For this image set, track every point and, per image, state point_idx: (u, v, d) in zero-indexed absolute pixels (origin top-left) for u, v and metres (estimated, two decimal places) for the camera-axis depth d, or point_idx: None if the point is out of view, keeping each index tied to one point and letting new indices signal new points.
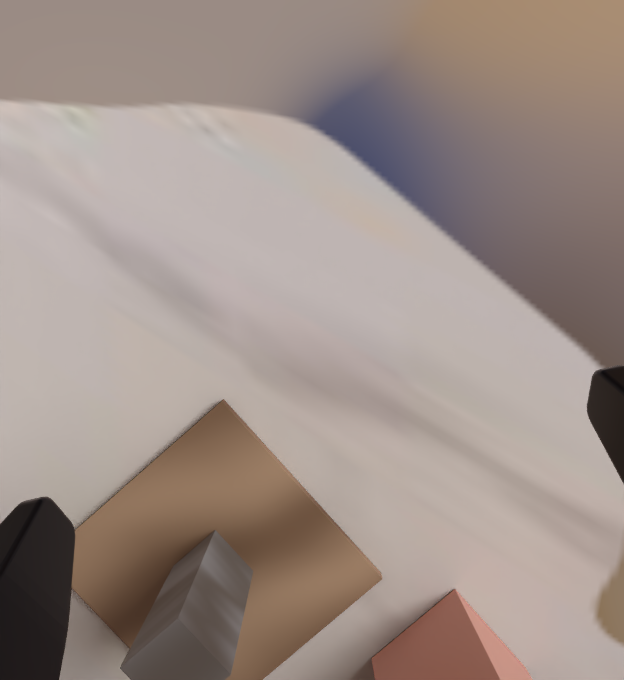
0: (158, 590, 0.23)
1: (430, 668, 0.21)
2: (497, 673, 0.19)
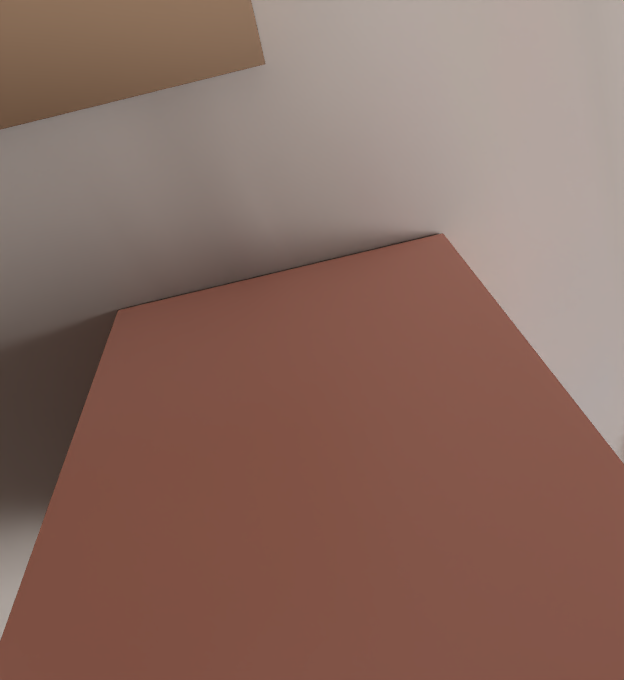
0: None
1: (311, 404, 0.05)
2: None
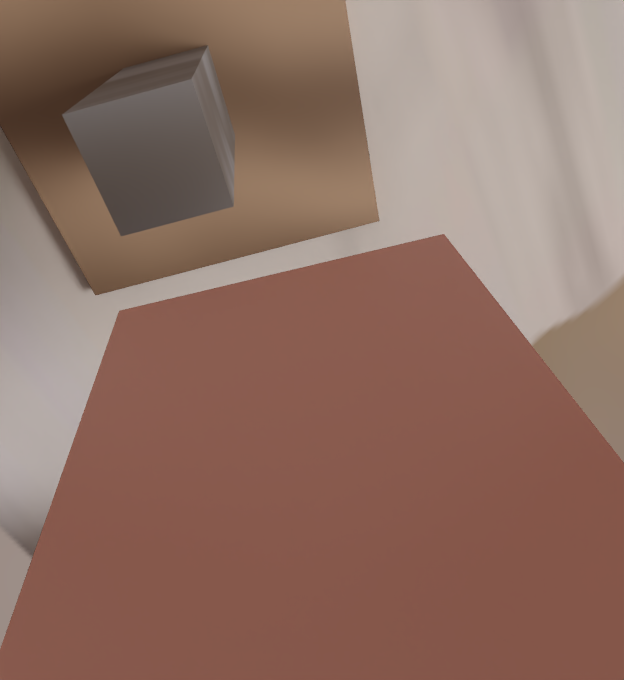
0: (88, 94, 0.15)
1: (312, 405, 0.05)
2: None
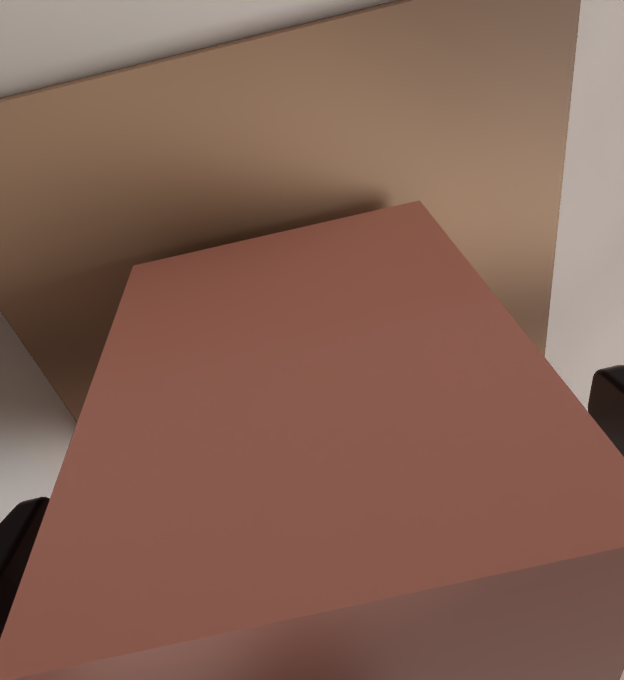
0: None
1: (301, 329, 0.07)
2: (588, 420, 0.05)
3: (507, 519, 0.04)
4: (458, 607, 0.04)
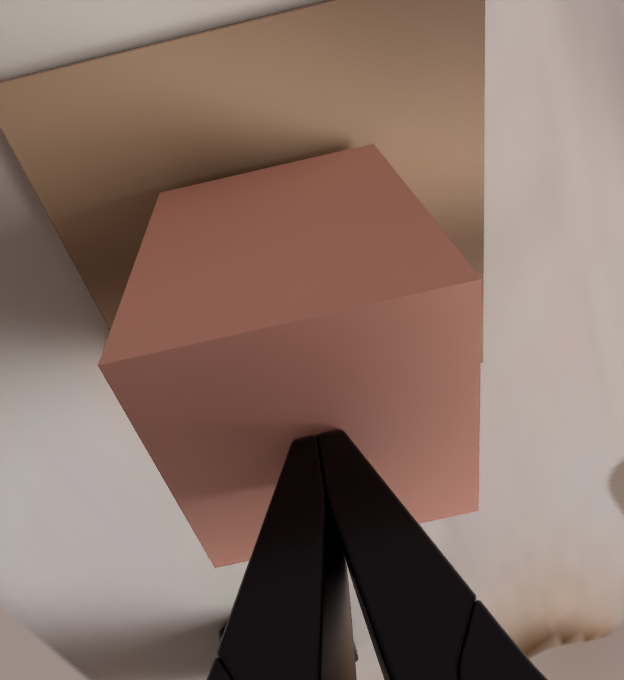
0: None
1: (280, 216, 0.10)
2: (449, 244, 0.08)
3: (391, 282, 0.07)
4: (361, 328, 0.07)
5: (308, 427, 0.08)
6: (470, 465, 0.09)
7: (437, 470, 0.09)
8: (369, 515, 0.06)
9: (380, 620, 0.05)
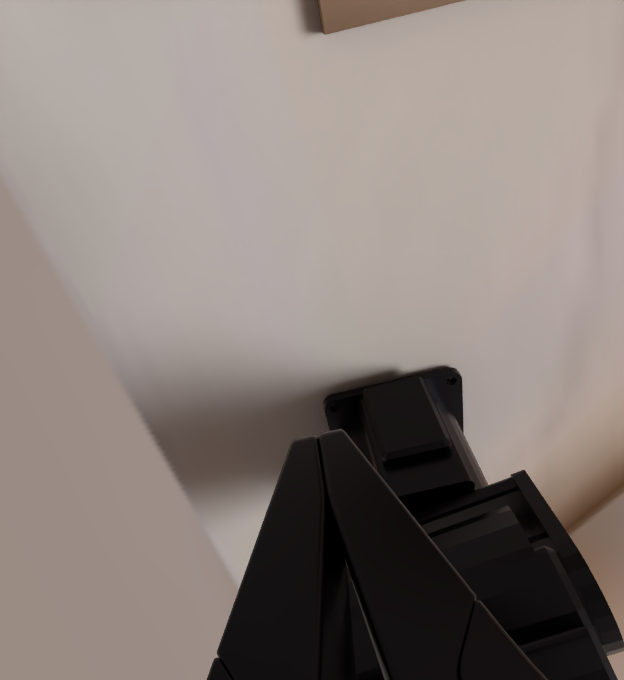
0: None
1: None
2: None
3: None
4: None
5: None
6: None
7: None
8: (369, 515, 0.06)
9: (380, 620, 0.05)
